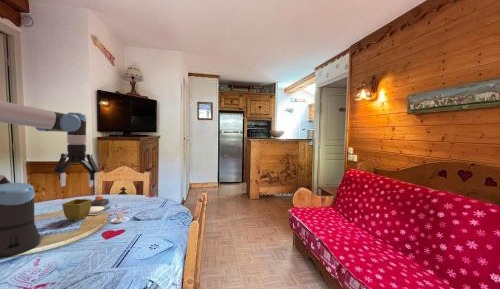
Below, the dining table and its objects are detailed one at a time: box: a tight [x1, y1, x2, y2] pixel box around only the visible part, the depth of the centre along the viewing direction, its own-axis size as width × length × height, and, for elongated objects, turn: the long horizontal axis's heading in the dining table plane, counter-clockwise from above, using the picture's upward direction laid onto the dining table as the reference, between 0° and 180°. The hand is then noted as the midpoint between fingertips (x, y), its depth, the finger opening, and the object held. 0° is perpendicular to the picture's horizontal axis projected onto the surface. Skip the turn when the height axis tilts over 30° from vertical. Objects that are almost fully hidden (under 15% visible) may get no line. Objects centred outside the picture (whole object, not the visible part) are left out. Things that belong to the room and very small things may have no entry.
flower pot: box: [61, 198, 93, 221], centre depth 117 cm, size 9×9×9 cm
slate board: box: [88, 205, 111, 214], centre depth 129 cm, size 13×13×1 cm
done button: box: [94, 194, 104, 201], centre depth 140 cm, size 4×4×3 cm
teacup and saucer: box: [110, 211, 130, 224], centre depth 116 cm, size 9×8×4 cm
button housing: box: [91, 198, 109, 206], centre depth 140 cm, size 7×7×3 cm
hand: (76, 186), depth 116 cm, fingers open, 13 cm apart
